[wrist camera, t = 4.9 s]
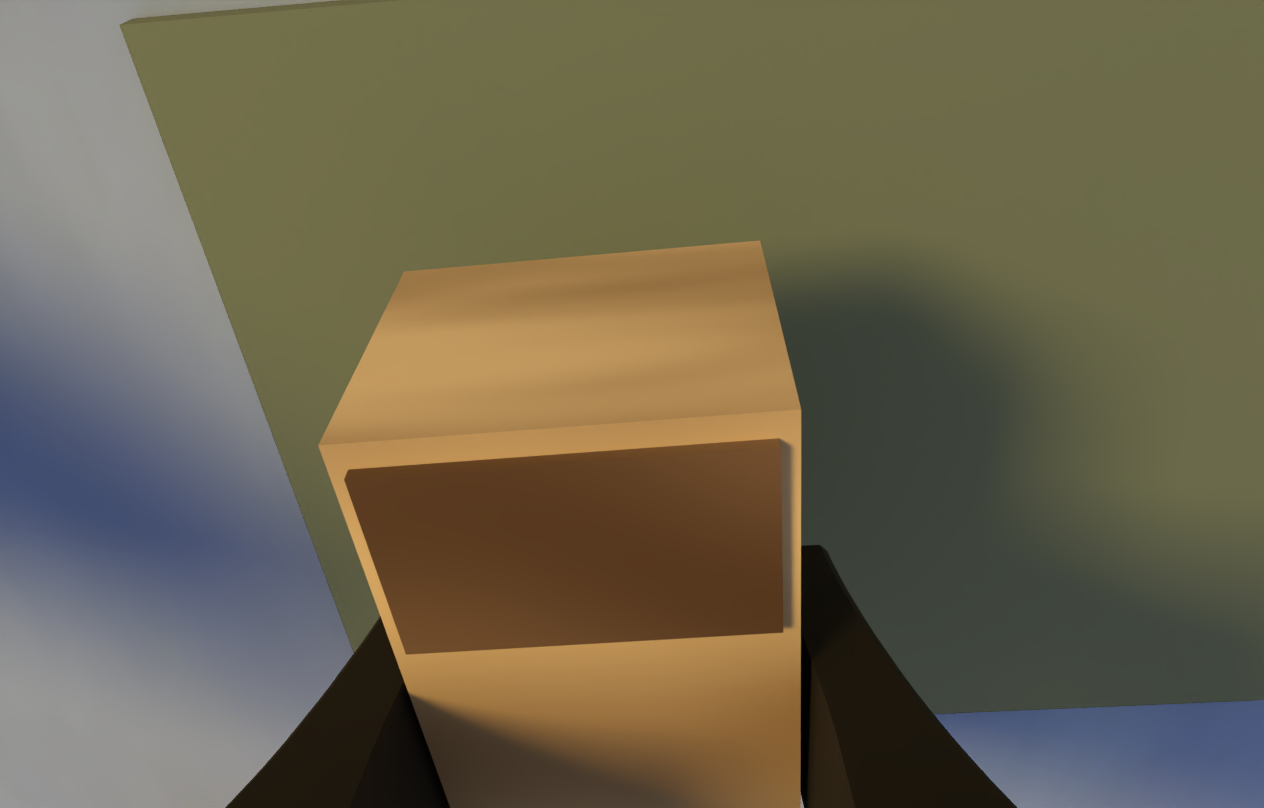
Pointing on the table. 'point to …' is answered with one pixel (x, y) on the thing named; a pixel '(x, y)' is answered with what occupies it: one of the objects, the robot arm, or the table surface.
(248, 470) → the table surface
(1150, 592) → the rubber mat
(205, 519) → the table surface
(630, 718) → the wooden cubby box
